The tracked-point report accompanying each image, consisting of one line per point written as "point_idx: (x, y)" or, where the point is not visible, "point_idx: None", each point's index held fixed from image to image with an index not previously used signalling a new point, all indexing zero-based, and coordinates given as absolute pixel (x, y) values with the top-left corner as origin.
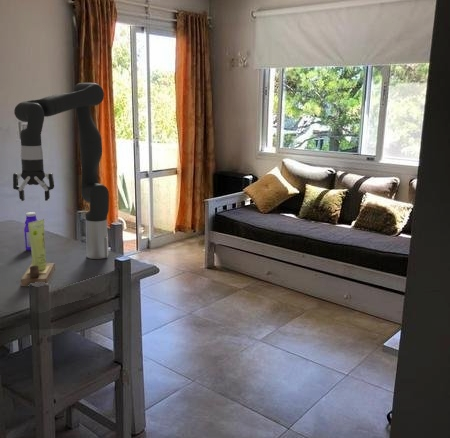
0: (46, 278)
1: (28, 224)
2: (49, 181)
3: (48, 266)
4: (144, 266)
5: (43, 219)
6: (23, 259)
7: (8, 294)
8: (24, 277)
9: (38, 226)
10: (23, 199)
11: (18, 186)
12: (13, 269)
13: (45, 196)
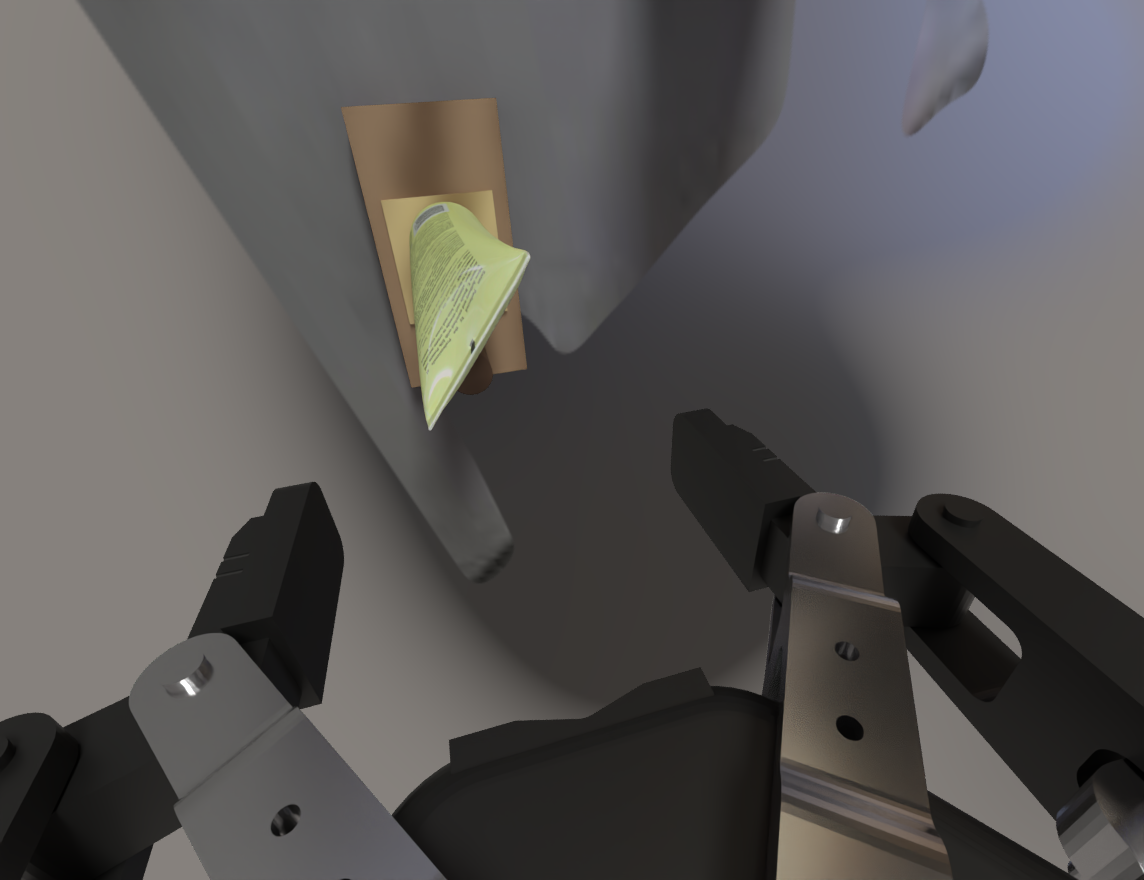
0: (525, 361)
1: (430, 423)
2: (1018, 762)
3: (486, 198)
4: (955, 40)
5: (526, 261)
6: None
7: (397, 449)
8: (418, 364)
9: (491, 332)
10: (335, 549)
11: (128, 811)
12: (202, 83)
13: (710, 525)
